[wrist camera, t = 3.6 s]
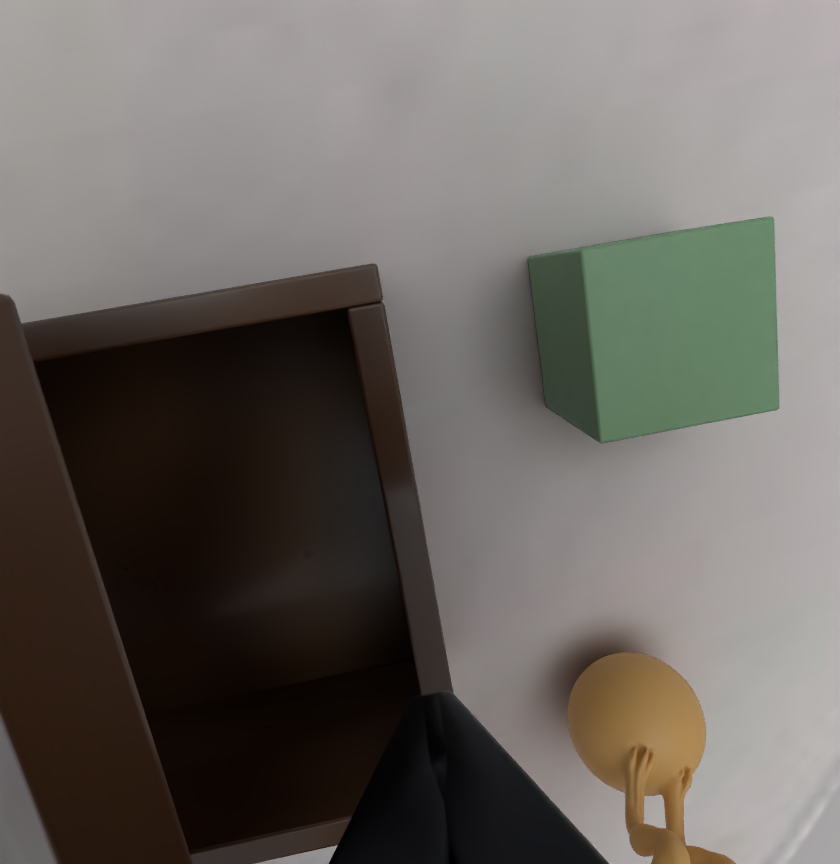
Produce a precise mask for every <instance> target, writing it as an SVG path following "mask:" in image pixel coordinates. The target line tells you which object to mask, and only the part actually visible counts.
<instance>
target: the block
mask: <svg viewBox="0 0 840 864" xmlns="http://www.w3.org/2000/svg"><path fill="white" fill-rule="evenodd" d="M528 264H529V273H530V281H531V289H532V297H533V306H534V314H535V322H536V331H537V339H538V347H539V355H540V364H541V372H542V380H543V388H544V397H545V405H546V407H547V408H548V409H549V410H551V411H553V412H554V413H556V414H557V415H559V416H560V417H562V418H563V419H565V420H566V421H568V422H569V423H571V424H572V425H574V426H575V427H577V428H578V429H580V430H581V431H583V432H584V433H586V434H587V435H589V436H590V437H592V438H593V439H595V440H596V441H598V442H599V443H606V442H612V441H617V440H622V439H627V438H633V437H638V436H643V435H648V434H654V433H659V432H664V431H669V430H675V429H680V428H685V427H690V426H695V425H701V424H706V423H711V422H716V421H722V420H727V419H732V418H737V417H743V416H748V415H753V414H758V413H764V412H769V411H774V410H777V409H779V379H778V344H777V309H776V274H775V239H774V219H773V217H764V218H757V219H751V220H744V221H738V222H731V223H725V224H718V225H712V226H705V227H699V228H692V229H686V230H679V231H673V232H667V233H661V234H656V235H650V236H644V237H638V238H633V239H627V240H621V241H615V242H609V243H604V244H598V245H592V246H586V247H580V248H575V249H569V250H563V251H557V252H552V253H546V254H540V255H534V256H530V257H529V258H528Z"/></svg>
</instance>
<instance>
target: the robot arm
mask: <svg viewBox="0 0 840 864" xmlns="http://www.w3.org/2000/svg"><path fill="white" fill-rule="evenodd" d="M329 864H609V863H608V862H607V861H606V860H605V859H604V857H603V856H602V855H601V854H600V853H599V852H598V851H597V850H596V849H595V848H594V847H593V845H592V844H591V843H590V842H589V841H588V840H587V839H586V838H585V837H584V836H583V835H582V833H581V832H580V831H579V830H578V829H577V828H576V827H575V826H574V825H573V824H572V823H571V821H570V820H569V819H568V818H567V817H566V816H565V815H564V814H563V813H562V812H561V811H560V809H559V808H558V807H557V806H556V805H555V804H554V803H553V802H552V801H551V800H550V799H549V797H548V796H547V795H546V794H545V793H544V792H543V791H542V790H541V789H540V788H539V787H538V785H537V784H536V783H535V782H534V781H533V780H532V779H531V778H530V777H529V776H528V775H527V773H526V772H525V771H524V770H523V769H522V768H521V767H520V766H519V765H518V764H517V763H516V761H515V760H514V759H513V758H512V757H511V756H510V755H509V754H508V753H507V752H506V751H505V749H504V748H503V747H502V746H501V745H500V744H499V743H498V742H497V741H496V740H495V738H494V737H493V736H492V735H491V734H490V733H489V732H488V731H487V730H486V729H485V728H484V726H483V725H482V724H481V723H480V722H479V721H478V720H477V719H476V718H475V717H474V716H473V714H472V713H471V712H470V711H469V710H468V709H467V708H466V707H465V706H464V705H463V704H462V702H461V701H460V700H459V699H458V698H457V697H456V696H455V695H454V694H453V693H452V692H450V691H441V692H435V693H430V694H424V695H419V696H414V697H412V698H411V699H409V701H408V703H407V705H406V707H405V709H404V711H403V713H402V715H401V717H400V719H399V721H398V723H397V725H396V728H395V730H394V732H393V734H392V736H391V738H390V740H389V742H388V744H387V746H386V748H385V750H384V752H383V754H382V756H381V758H380V760H379V762H378V764H377V766H376V768H375V770H374V772H373V775H372V777H371V779H370V781H369V783H368V785H367V787H366V789H365V791H364V793H363V795H362V797H361V799H360V801H359V803H358V805H357V807H356V809H355V811H354V813H353V815H352V817H351V819H350V822H349V824H348V826H347V828H346V830H345V832H344V834H343V836H342V838H341V840H340V842H339V844H338V846H337V848H336V850H335V852H334V854H333V856H332V858H331V860H330V862H329Z"/></svg>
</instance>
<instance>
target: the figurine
mask: <svg viewBox="0 0 840 864" xmlns="http://www.w3.org/2000/svg"><path fill="white" fill-rule="evenodd" d="M568 726H569V731H570V735H571V739H572V742H573V744H574V747H575V749H576V751H577V753H578V755H579V756H580V758H581V759H582V761H583V762H584V764H585V765H586V766H587V767H588V769H589V770H590V771H591V772H592V773H593V774H594V775H595V776H596V777H598V778H599V779H600V780H601V781H603V782H604V783H606V784H607V785H609V786H611V787H612V788H614V789H616V790H619V791H621V792H624V793H625V818H626V827H627V831H628V833H629V834H630V844H631V846H632V848H633V850H634V851H635V852H636V853H637V854H638V855H640V856H652V855H654V856H653V860H652V863H651V864H736V863H735V862H734V861H732V860H731V859H730V858H729V857H727V856H725V855H722V854H719V853H714V852H710V851H707V850H705V849H702V848H700V847H696V846H686V844H685V837H684V821H683V816H684V797H685V794H686V792H687V791H688V789H689V788H690V786H691V782H692V774H693V773H694V771H695V770H696V768H697V767H698V765H699V763H700V761H701V758H702V755H703V752H704V748H705V741H706V726H705V719H704V715H703V711H702V708H701V705H700V703H699V701H698V698H697V697H696V695H695V693H694V691H693V690H692V688H691V687H690V685H689V684H688V683H687V682H686V680H685V679H684V678H683V677H682V676H681V675H680V674H679V673H678V672H677V671H676V670H674V669H673V668H672V667H670V666H669V665H667V664H666V663H664V662H662V661H661V660H659V659H656V658H654V657H651V656H648V655H645V654H641V653H634V652H622V653H615V654H611V655H608V656H605V657H602V658H600V659H598V660H597V661H595V662H594V663H592V664H591V665H590V666H588V667H587V668H586V669H585V670H584V671H583V672H582V674H581V675H580V676H579V678H578V679H577V681H576V683H575V685H574V687H573V689H572V692H571V695H570V698H569V703H568ZM660 794H661V795H662V796H663V798H664V806H665V818H666V829H663V828H657V827H654V826H651V825H647V824H643V820H644V796H654V795H660Z"/></svg>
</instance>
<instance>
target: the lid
mask: <svg viewBox="0 0 840 864" xmlns="http://www.w3.org/2000/svg"><path fill="white" fill-rule="evenodd" d="M0 864H193V863H192V860H191V856H190V853H189V850H188V847H187V844H186V841H185V838H184V834H183V831H182V828H181V825H180V822H179V819H178V816H177V812H176V809H175V806H174V803H173V800H172V797H171V793H170V790H169V787H168V784H167V781H166V778H165V775H164V771H163V768H162V765H161V762H160V759H159V756H158V753H157V749H156V746H155V743H154V740H153V737H152V734H151V731H150V727H149V724H148V721H147V718H146V715H145V712H144V708H143V705H142V702H141V699H140V696H139V693H138V690H137V686H136V683H135V680H134V677H133V674H132V671H131V668H130V664H129V661H128V658H127V655H126V652H125V649H124V646H123V642H122V639H121V636H120V633H119V630H118V627H117V623H116V620H115V617H114V614H113V611H112V608H111V605H110V601H109V598H108V595H107V592H106V589H105V586H104V583H103V579H102V576H101V573H100V570H99V567H98V564H97V561H96V557H95V554H94V551H93V548H92V545H91V542H90V538H89V535H88V532H87V529H86V526H85V523H84V520H83V516H82V513H81V510H80V507H79V504H78V501H77V498H76V494H75V491H74V488H73V485H72V482H71V479H70V476H69V472H68V469H67V466H66V463H65V460H64V457H63V453H62V450H61V447H60V444H59V441H58V438H57V435H56V431H55V428H54V425H53V422H52V419H51V416H50V413H49V409H48V406H47V403H46V400H45V397H44V394H43V391H42V387H41V384H40V381H39V378H38V375H37V372H36V369H35V365H34V362H33V359H32V356H31V353H30V350H29V346H28V343H27V340H26V337H25V334H24V331H23V328H22V324H21V321H20V318H19V315H18V312H17V309H16V306H15V302H14V301H13V300H12V299H11V297H10V296H9V295H4V294H0Z"/></svg>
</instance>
